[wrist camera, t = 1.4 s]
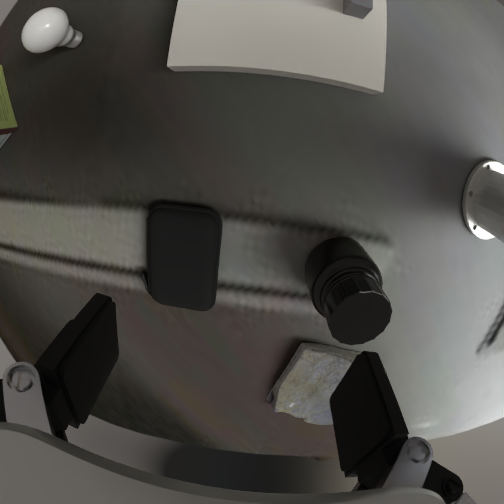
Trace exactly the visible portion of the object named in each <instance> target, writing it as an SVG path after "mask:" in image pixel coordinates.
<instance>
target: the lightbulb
mask: <svg viewBox="0 0 504 504" xmlns="http://www.w3.org/2000/svg"><path fill="white" fill-rule="evenodd" d="M82 37H83V35H82V33H81V32H79V31H77V30H74V29H73V28H72V27H71V26H70V25H69V21H68V17H67V15H66V13H65V12H64V11H63V10H61V9H59V8H56V7H48V8H44V9H42V10H40V11H38V12H36V13H35V14H34V15H32V16H31V17H30V18H29V20H28V21H27V22H26V24H25V26H24V28H23V31H22V36H21V38H22V43H23V46H24V47H25V48H26V49H27V50H28V51H30V52H33V53H43V52H46V51H49V50H51V49H53V48H54V47H59V46H66V47H69V48H75V47H76V46H78V45H79V44H80V42H81V40H82Z"/></svg>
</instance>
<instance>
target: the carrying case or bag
mask: <svg viewBox="0 0 504 504" xmlns="http://www.w3.org/2000/svg"><path fill="white" fill-rule="evenodd" d="M221 236H222V220H221V217H220V216H219V214H218V213H217V212H215V211H214V210H212V209H209V208H201V207H193V206H185V205H176V204H167V203H161V204H158V205H156V206H154V207H153V208H152V209H151V211H150V212H149V215H148V218H147V275H146V272H145V271H142V279H143V281H144V284H145V287H146V290H147V291H148V292H149V294H150V295H151V296H152V298H153V299H154V300H155V301H156V302H158V303H160V304H163V305H169V306H174V307H180V308H186V309H192V310H198V311H206V310H209V309H211V308H212V307H213V306H214V304H215V300H216V290H217V278H218V266H219V256H220V246H221ZM147 276H148V279H147Z"/></svg>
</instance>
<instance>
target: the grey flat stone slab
mask: <svg viewBox="0 0 504 504" xmlns="http://www.w3.org/2000/svg"><path fill="white" fill-rule="evenodd" d="M358 354H361V352H357V351H351V350H344V349H340V348H337V347H334V346H329V345H322V344H317V343H301V345H300V346H299V348H298V349H297V351H296V353H295V354H294V356H293V358H292V359H291V361H290V362H289V364H288V365H287V367H286V368H285V370H284V371H283V373H282V374H281V376H280V378H279V379H278V380H277V382H276V383H275V385H274V386H273V388H272V390H271V391H270V393H269V394H268V396H267V401H270V402H271V403H272V406H273V410H274V411H275V412H285V413H288V414H291V415H292V416H294V417H297V418H303V419H304V421H305V422H308V423H312V424H318V425H329V424H333V420H332V414H331V409H330V403H329V402H330V397H331V395H332V393H333V392H334V390H335V389H336V387H337V386H338V384H339V383H340V381H341V380H342V378H343V377H344V375H345V373H346V372H347V370H348V369H349V367H350V366H351V364H352V362H353V361H354V359H355V357H356V356H357V355H358ZM385 372H386V371H385ZM386 374H387V372H386Z"/></svg>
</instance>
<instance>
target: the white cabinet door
mask: <svg viewBox="0 0 504 504" xmlns="http://www.w3.org/2000/svg"><path fill="white" fill-rule="evenodd" d="M385 61H386V0H178V4H177V9H176V14H175V19H174V24H173V30H172V36H171V42H170V48H169V54H168V61H167V67H168V68H170V69H171V70H173V71H175V72H176V71H220V72H240V73H254V74H264V75H274V76H282V77H289V78H296V79H303V80H309V81H314V82H320V83H325V84H330V85H335V86H339V87H344V88H348V89H352V90H356V91H360V92H364V93H368V94H372V95H376V94H379V93H383V90H384V78H385Z"/></svg>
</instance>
